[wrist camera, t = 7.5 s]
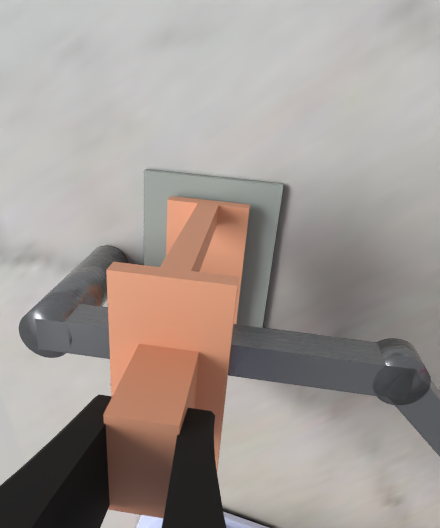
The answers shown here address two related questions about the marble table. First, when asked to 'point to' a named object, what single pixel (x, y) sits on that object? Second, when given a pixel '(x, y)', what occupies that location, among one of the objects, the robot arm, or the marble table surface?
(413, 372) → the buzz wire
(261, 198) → the pad
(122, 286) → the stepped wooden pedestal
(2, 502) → the robot arm
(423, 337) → the marble table surface
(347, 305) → the marble table surface
